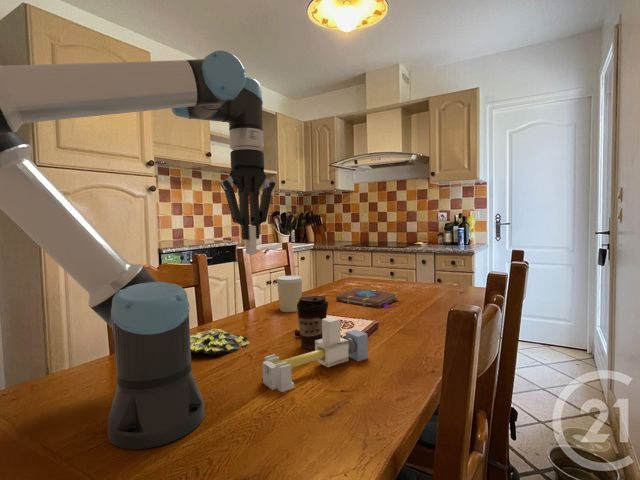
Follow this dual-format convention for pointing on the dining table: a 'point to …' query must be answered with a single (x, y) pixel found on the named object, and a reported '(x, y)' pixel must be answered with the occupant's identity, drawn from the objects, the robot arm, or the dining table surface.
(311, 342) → the coffee cup
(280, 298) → the coffee cup
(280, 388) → the slide rail
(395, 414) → the dining table surface
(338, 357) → the sliding rod carriage
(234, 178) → the robot arm
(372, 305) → the book
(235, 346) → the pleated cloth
